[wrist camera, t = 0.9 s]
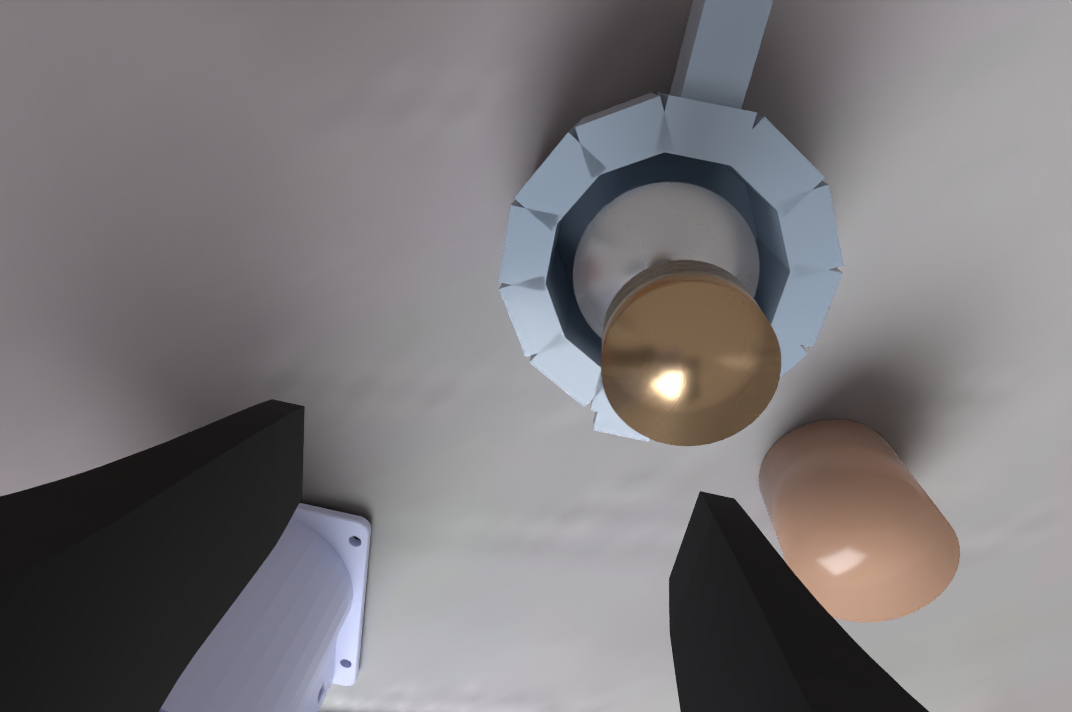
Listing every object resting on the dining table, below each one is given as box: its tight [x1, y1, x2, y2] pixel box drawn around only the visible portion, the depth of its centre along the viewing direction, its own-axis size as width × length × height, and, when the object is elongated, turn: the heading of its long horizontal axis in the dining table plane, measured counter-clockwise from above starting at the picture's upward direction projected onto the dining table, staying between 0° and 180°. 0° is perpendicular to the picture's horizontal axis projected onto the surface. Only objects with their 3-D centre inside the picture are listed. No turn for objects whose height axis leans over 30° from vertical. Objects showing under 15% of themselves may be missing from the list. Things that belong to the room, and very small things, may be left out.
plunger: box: [573, 180, 781, 446], centre depth 14 cm, size 5×5×6 cm
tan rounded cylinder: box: [759, 419, 960, 622], centre depth 20 cm, size 5×5×4 cm
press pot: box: [498, 0, 843, 442], centre depth 17 cm, size 11×8×4 cm
